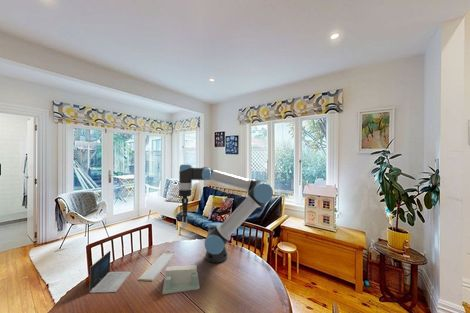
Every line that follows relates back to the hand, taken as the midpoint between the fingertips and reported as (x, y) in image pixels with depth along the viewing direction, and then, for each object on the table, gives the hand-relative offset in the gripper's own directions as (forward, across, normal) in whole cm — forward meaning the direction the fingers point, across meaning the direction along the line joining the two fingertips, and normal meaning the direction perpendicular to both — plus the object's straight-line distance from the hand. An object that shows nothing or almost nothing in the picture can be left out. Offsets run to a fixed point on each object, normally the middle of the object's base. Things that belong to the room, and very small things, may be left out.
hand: (184, 223), depth 123 cm
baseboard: (+28, -5, -16) cm, 32 cm away
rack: (+27, +16, -1) cm, 31 cm away
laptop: (+27, +6, -37) cm, 46 cm away
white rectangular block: (+26, +16, -1) cm, 30 cm away
